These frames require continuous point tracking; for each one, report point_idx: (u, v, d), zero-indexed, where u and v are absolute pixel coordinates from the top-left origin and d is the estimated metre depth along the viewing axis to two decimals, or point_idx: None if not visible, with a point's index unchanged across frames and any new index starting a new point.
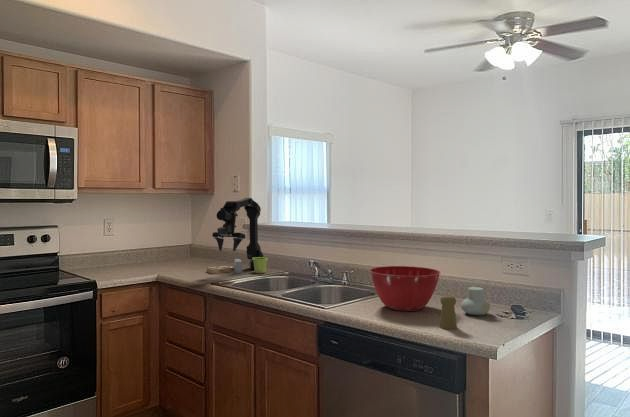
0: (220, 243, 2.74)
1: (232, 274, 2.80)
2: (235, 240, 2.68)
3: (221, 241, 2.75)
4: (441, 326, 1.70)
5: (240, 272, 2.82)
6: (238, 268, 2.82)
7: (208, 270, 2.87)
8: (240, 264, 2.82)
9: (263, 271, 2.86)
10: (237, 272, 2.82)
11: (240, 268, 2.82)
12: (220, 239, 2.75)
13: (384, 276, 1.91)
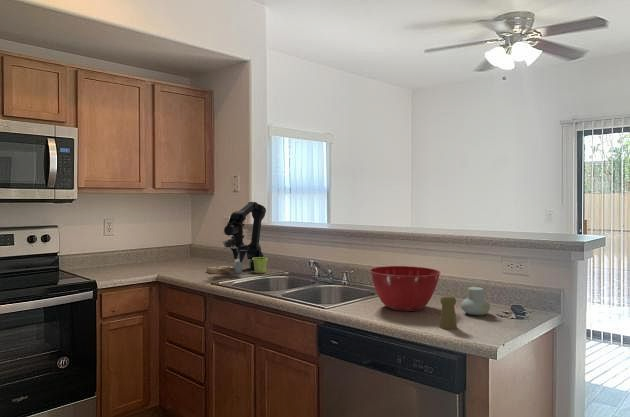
0: (234, 253, 2.87)
1: (232, 274, 2.80)
2: (238, 252, 2.77)
3: (236, 251, 2.88)
4: (441, 326, 1.70)
5: (240, 272, 2.82)
6: (238, 268, 2.82)
7: (208, 270, 2.87)
8: (240, 264, 2.82)
9: (263, 271, 2.86)
10: (237, 272, 2.82)
11: (240, 268, 2.82)
12: (234, 249, 2.88)
13: (384, 276, 1.91)
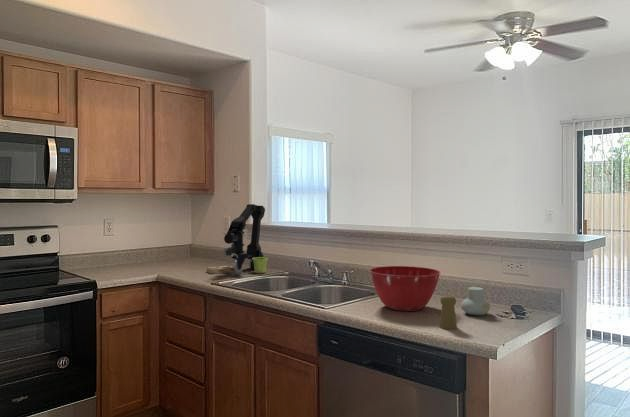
0: None
1: (232, 274, 2.80)
2: None
3: None
4: (441, 326, 1.70)
5: (240, 272, 2.82)
6: None
7: (208, 270, 2.87)
8: None
9: (263, 271, 2.86)
10: (237, 272, 2.82)
11: None
12: (236, 257, 2.85)
13: (384, 276, 1.91)
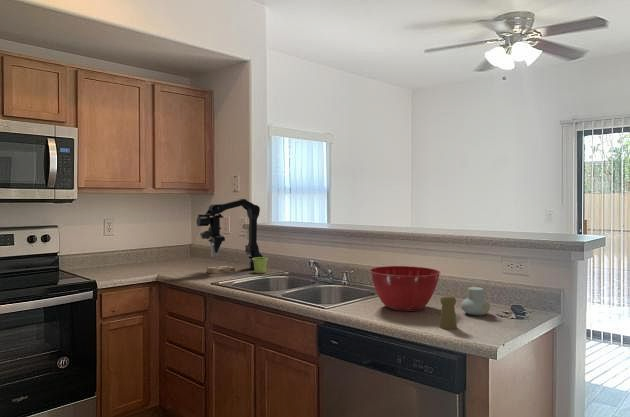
0: None
1: (232, 274, 2.80)
2: (213, 243, 2.83)
3: None
4: (441, 326, 1.70)
5: (217, 255, 2.86)
6: None
7: (208, 270, 2.87)
8: None
9: (263, 271, 2.86)
10: (214, 255, 2.85)
11: None
12: (213, 241, 2.89)
13: (384, 276, 1.91)
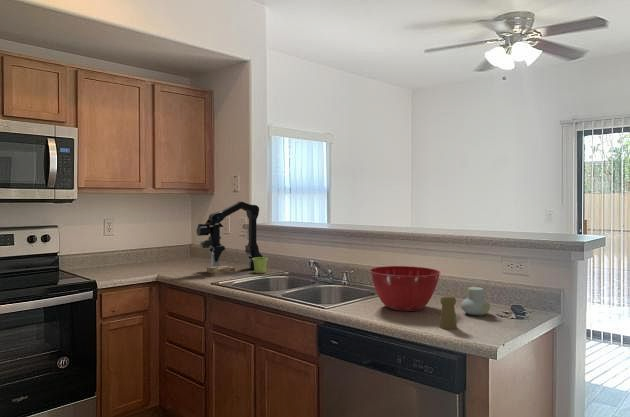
0: None
1: (232, 274, 2.80)
2: (213, 252, 2.83)
3: None
4: (441, 326, 1.70)
5: (217, 264, 2.86)
6: None
7: (208, 270, 2.87)
8: None
9: (263, 271, 2.86)
10: (214, 264, 2.85)
11: None
12: (213, 250, 2.89)
13: (384, 276, 1.91)
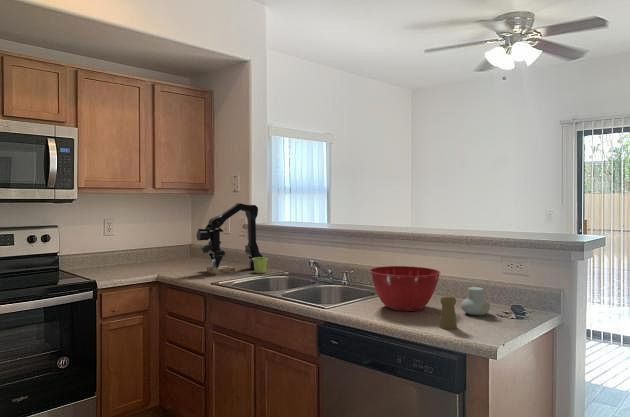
0: (212, 258, 2.90)
1: (232, 274, 2.80)
2: (214, 257, 2.82)
3: (214, 256, 2.91)
4: (441, 326, 1.70)
5: None
6: None
7: (208, 270, 2.87)
8: None
9: (263, 271, 2.86)
10: None
11: None
12: (212, 255, 2.90)
13: (384, 276, 1.91)
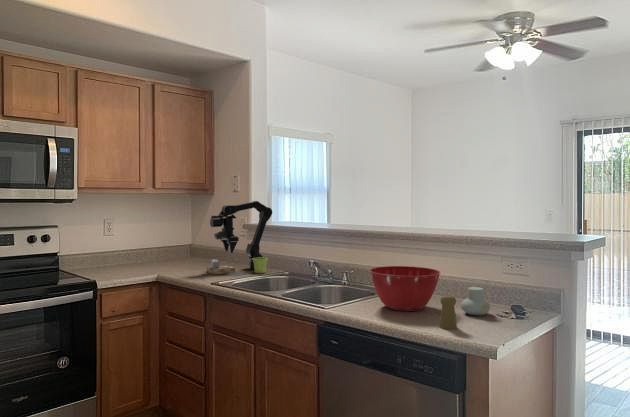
0: (225, 244, 2.97)
1: (232, 274, 2.80)
2: (229, 243, 2.87)
3: (227, 242, 2.98)
4: (441, 326, 1.70)
5: None
6: None
7: (208, 270, 2.87)
8: (217, 264, 2.86)
9: (263, 271, 2.86)
10: None
11: None
12: (225, 241, 2.98)
13: (384, 276, 1.91)
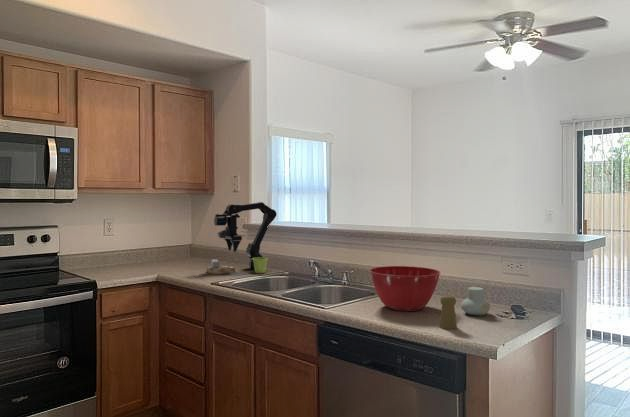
0: (228, 243, 2.99)
1: (232, 274, 2.80)
2: (232, 242, 2.89)
3: (230, 241, 3.00)
4: (441, 326, 1.70)
5: None
6: None
7: (208, 270, 2.87)
8: (217, 264, 2.86)
9: (263, 271, 2.86)
10: None
11: None
12: (228, 240, 2.99)
13: (384, 276, 1.91)
